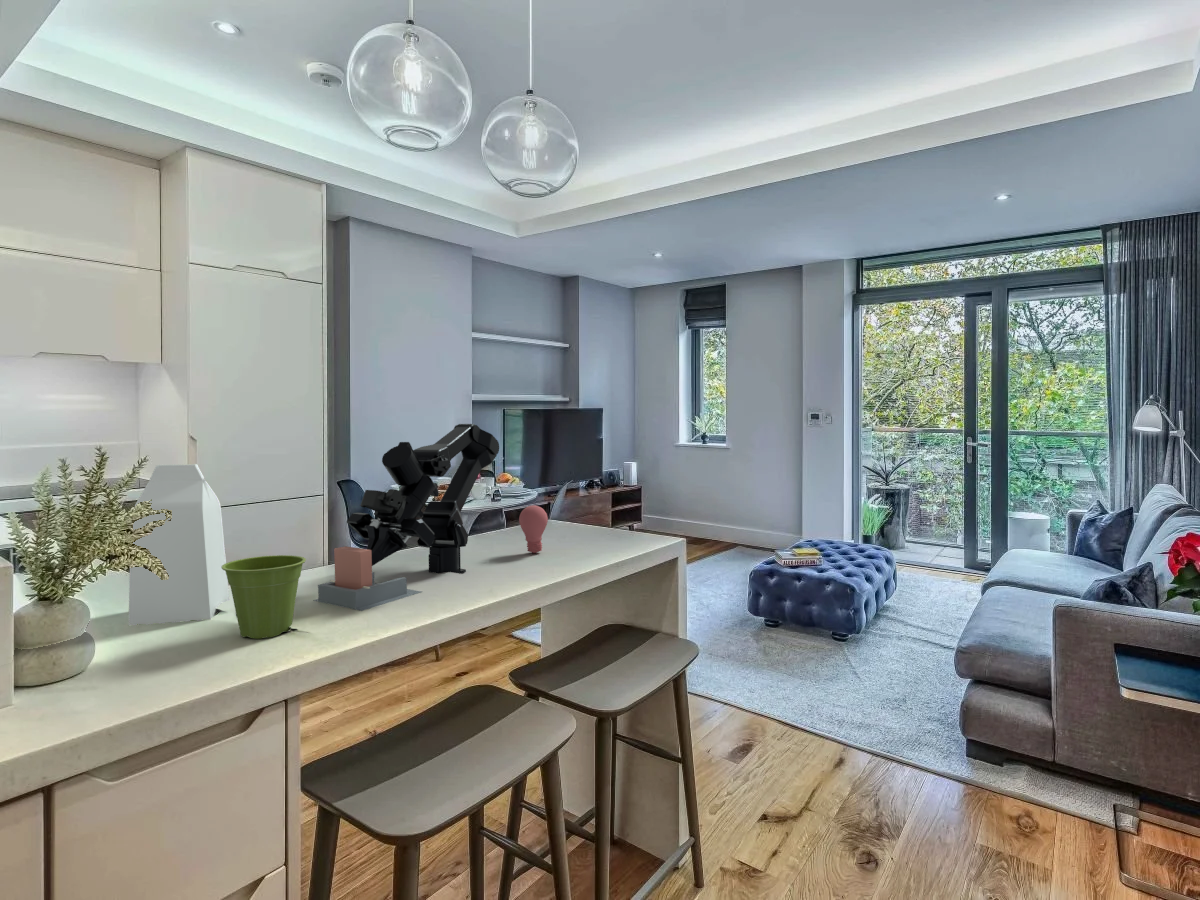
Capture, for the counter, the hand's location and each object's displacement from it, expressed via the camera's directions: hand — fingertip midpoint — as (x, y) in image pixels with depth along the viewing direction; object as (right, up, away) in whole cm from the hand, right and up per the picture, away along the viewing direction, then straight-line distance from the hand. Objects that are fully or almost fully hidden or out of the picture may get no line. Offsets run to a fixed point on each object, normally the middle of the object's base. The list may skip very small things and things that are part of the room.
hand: (365, 566), depth 120 cm
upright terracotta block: (-1, -6, -2) cm, 6 cm away
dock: (0, -7, +1) cm, 7 cm away
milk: (-30, -7, -6) cm, 32 cm away
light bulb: (+27, -5, +43) cm, 51 cm away
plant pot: (-10, -8, -16) cm, 21 cm away
